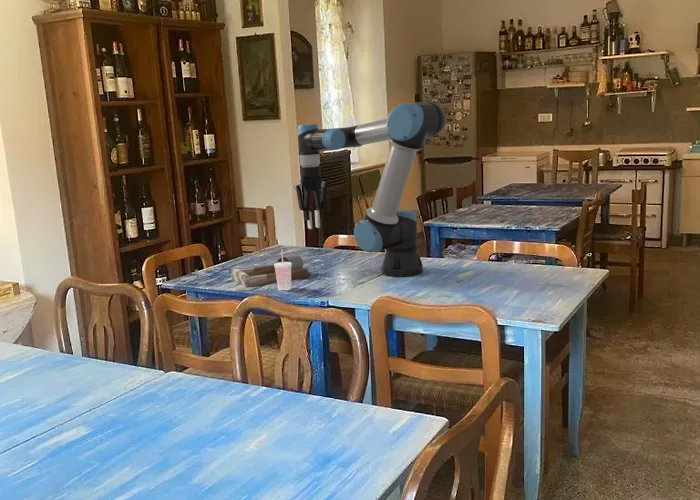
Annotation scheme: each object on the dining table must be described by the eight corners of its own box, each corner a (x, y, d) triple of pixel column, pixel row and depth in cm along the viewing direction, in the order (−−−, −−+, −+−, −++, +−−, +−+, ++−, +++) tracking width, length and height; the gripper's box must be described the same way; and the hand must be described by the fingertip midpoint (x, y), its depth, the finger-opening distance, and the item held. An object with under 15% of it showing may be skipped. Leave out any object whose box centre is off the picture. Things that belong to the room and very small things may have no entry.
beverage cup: (290, 291, 244) (287, 251, 242) (273, 291, 246) (270, 251, 243) (295, 286, 250) (292, 247, 248) (278, 286, 251) (275, 247, 249)
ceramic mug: (305, 273, 270) (304, 253, 269) (292, 277, 263) (290, 257, 262) (283, 271, 276) (281, 252, 275) (270, 275, 269) (268, 255, 268)
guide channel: (308, 276, 264) (307, 266, 264) (245, 286, 254) (244, 275, 253) (292, 269, 279) (291, 259, 278) (232, 278, 268) (231, 268, 268)
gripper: (324, 163, 274) (328, 224, 278) (286, 167, 267) (291, 229, 271) (333, 164, 267) (336, 226, 271) (294, 168, 260) (298, 231, 265)
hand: (314, 227), depth 271 cm, fingers open, 3 cm apart
